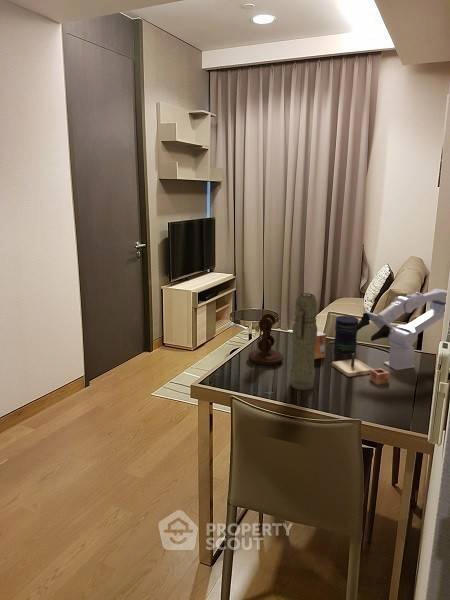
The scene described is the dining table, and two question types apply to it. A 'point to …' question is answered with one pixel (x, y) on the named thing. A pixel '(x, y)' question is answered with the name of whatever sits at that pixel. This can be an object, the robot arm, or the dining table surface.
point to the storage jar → (345, 335)
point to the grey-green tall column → (304, 342)
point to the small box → (320, 345)
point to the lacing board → (352, 367)
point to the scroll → (266, 344)
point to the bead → (379, 376)
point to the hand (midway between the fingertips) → (363, 333)
